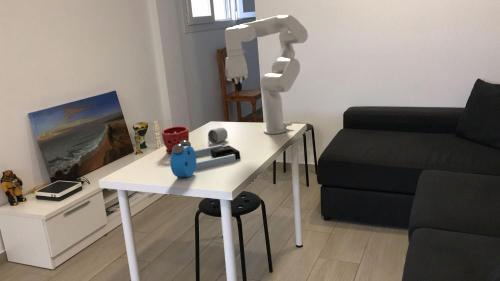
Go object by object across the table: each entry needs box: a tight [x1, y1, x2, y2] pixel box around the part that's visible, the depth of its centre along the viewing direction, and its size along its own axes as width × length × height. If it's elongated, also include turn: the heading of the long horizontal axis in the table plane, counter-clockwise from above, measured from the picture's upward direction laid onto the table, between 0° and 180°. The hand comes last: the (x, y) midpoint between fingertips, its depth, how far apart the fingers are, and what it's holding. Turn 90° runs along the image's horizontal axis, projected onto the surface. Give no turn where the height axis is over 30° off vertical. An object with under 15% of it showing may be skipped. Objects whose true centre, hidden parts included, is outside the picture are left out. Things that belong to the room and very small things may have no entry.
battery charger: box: [210, 144, 241, 161], centre depth 211 cm, size 13×10×4 cm
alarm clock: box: [169, 140, 197, 179], centre depth 190 cm, size 13×6×15 cm, turn 163°
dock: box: [194, 144, 237, 170], centre depth 210 cm, size 18×20×3 cm
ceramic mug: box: [207, 127, 228, 145], centre depth 238 cm, size 11×8×8 cm
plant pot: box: [161, 126, 190, 156], centre depth 226 cm, size 13×13×12 cm
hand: (238, 91), depth 223 cm, fingers closed
